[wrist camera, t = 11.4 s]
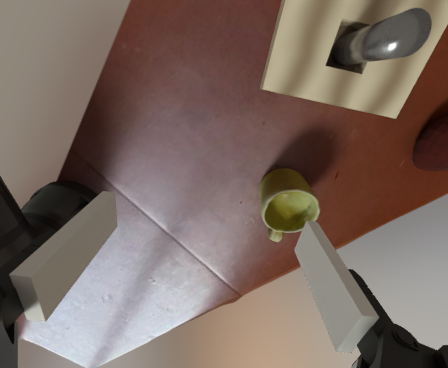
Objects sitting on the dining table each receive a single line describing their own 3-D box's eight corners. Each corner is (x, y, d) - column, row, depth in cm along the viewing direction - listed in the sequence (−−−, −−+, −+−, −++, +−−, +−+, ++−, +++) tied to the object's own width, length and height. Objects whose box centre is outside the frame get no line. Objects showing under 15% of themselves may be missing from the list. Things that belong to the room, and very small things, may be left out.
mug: (268, 151, 35) (291, 195, 28) (312, 167, 39) (341, 208, 32) (234, 199, 42) (246, 243, 35) (274, 207, 47) (291, 248, 39)
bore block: (259, 88, 33) (262, 89, 30) (289, -31, 27) (296, -46, 24) (380, 115, 34) (395, 118, 31) (436, 6, 28) (462, -4, 24)
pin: (327, 63, 30) (378, 53, 19) (337, 32, 28) (400, 3, 18) (351, 67, 30) (416, 60, 19) (362, 38, 29) (440, 12, 18)
